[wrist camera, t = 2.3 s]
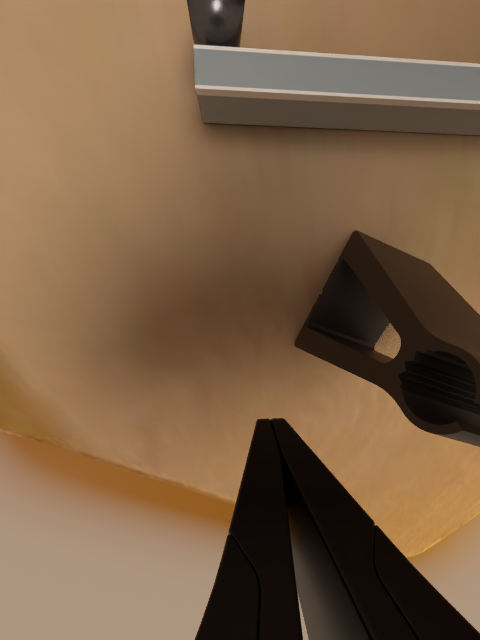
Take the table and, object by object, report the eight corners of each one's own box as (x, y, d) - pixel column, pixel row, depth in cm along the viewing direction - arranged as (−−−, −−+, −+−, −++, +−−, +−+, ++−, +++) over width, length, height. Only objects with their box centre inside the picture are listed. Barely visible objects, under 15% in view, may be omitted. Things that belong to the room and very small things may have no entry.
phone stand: (357, 364, 21) (505, 536, 10) (292, 343, 20) (382, 512, 9) (425, 262, 18) (752, 349, 7) (354, 229, 17) (614, 270, 6)
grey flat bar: (524, 113, 14) (647, 74, 10) (514, 139, 15) (628, 112, 11) (202, 96, 13) (193, 44, 9) (203, 125, 14) (195, 88, 9)
